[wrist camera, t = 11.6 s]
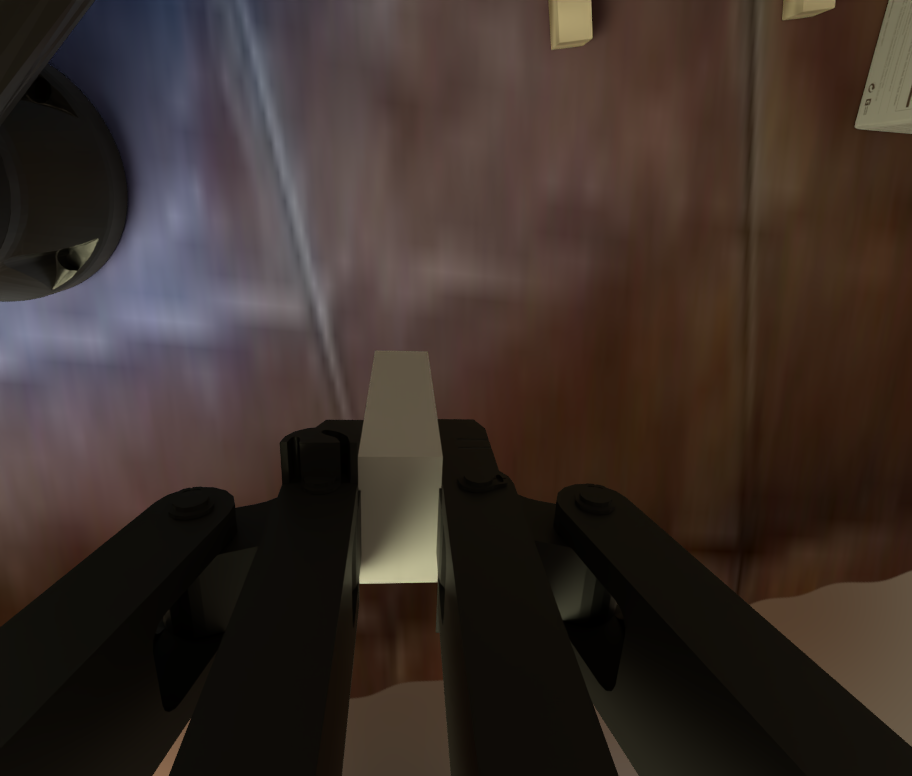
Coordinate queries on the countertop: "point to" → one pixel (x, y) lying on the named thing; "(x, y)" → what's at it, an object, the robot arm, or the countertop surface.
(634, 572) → the robot arm
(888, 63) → the supplement box
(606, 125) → the countertop surface
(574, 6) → the slot track
